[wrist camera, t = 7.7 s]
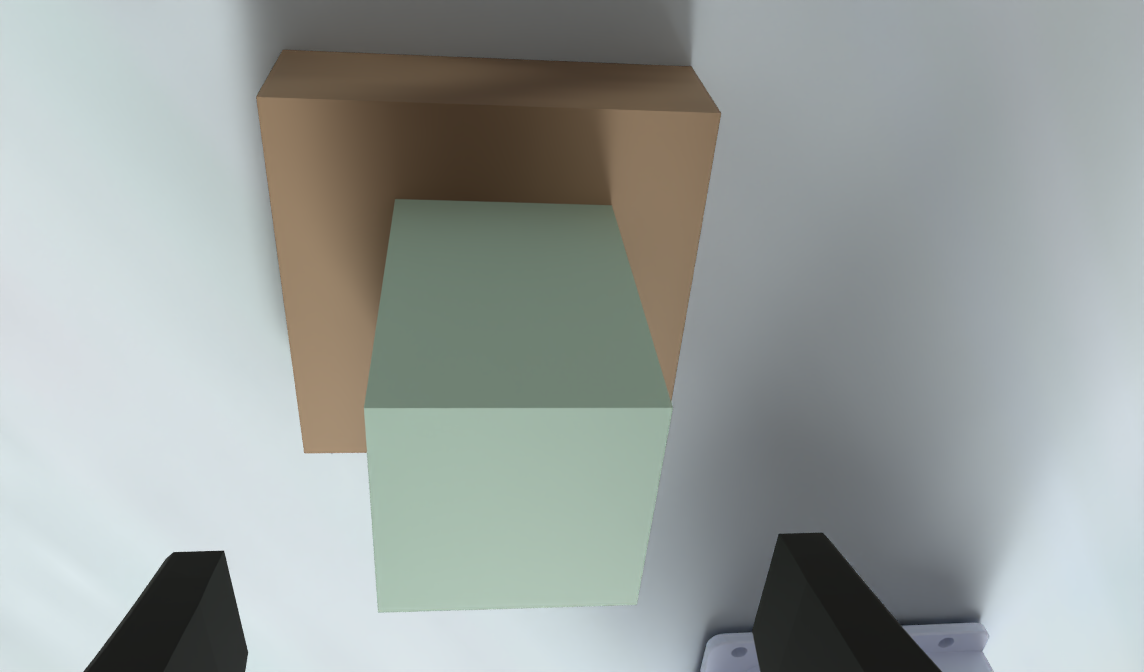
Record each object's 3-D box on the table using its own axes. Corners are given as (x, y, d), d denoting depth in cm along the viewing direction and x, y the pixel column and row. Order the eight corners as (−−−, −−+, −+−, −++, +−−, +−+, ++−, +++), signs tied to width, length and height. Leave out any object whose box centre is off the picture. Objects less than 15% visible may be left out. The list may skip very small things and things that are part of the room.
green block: (611, 204, 17) (673, 407, 12) (592, 374, 19) (636, 604, 14) (395, 199, 16) (363, 408, 11) (401, 374, 18) (378, 612, 13)
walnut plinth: (687, 60, 18) (721, 113, 16) (642, 370, 23) (663, 449, 20) (285, 43, 17) (256, 97, 15) (322, 370, 22) (304, 453, 19)
